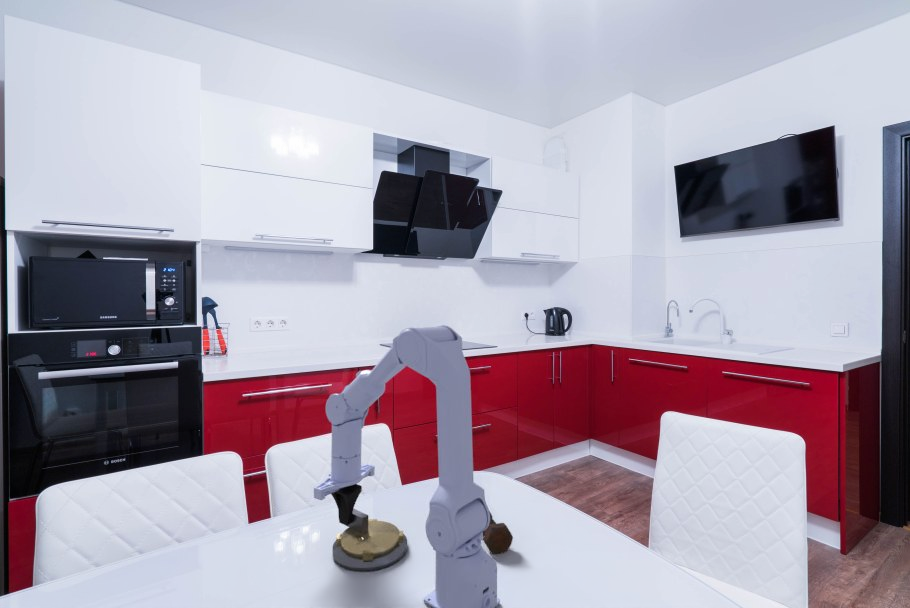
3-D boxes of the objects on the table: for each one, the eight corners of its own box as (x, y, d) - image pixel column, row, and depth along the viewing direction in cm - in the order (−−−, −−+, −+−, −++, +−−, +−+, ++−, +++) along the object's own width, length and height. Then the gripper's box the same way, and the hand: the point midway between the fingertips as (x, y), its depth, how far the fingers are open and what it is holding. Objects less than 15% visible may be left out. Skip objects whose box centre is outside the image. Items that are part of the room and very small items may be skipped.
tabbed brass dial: (403, 558, 80) (403, 534, 80) (332, 562, 79) (332, 537, 79) (403, 524, 93) (403, 503, 92) (341, 527, 91) (341, 505, 91)
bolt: (476, 525, 99) (503, 560, 85) (457, 516, 98) (481, 550, 84) (488, 500, 100) (517, 531, 86) (470, 491, 99) (496, 521, 85)
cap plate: (422, 548, 86) (422, 542, 86) (363, 582, 76) (363, 575, 76) (375, 524, 96) (375, 518, 96) (317, 551, 85) (317, 545, 85)
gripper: (357, 440, 97) (356, 503, 97) (302, 460, 84) (301, 532, 84) (382, 446, 93) (381, 512, 93) (329, 468, 80) (328, 543, 80)
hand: (345, 522), depth 88 cm, fingers closed, pressing on tabbed brass dial
